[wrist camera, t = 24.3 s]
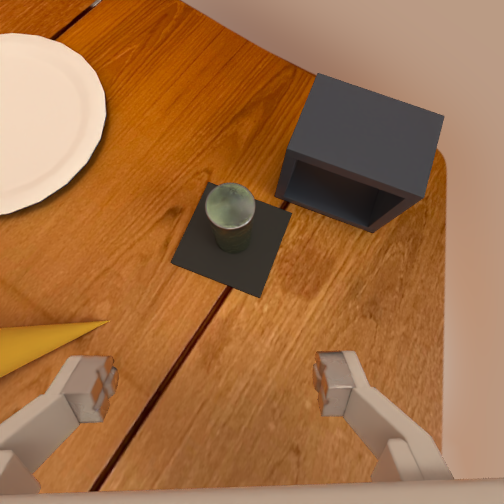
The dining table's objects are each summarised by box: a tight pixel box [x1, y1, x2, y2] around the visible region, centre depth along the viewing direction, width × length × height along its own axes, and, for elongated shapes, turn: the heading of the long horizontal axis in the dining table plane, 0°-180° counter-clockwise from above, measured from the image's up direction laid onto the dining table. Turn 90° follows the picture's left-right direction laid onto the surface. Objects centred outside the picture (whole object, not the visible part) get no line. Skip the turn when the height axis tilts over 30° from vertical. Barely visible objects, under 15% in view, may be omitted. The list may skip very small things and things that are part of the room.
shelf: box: [275, 73, 444, 233], centre depth 34 cm, size 14×10×11 cm
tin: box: [205, 183, 256, 254], centre depth 32 cm, size 5×5×10 cm
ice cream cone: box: [0, 321, 109, 377], centre depth 31 cm, size 6×6×20 cm
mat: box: [171, 182, 292, 298], centre depth 37 cm, size 12×12×1 cm
